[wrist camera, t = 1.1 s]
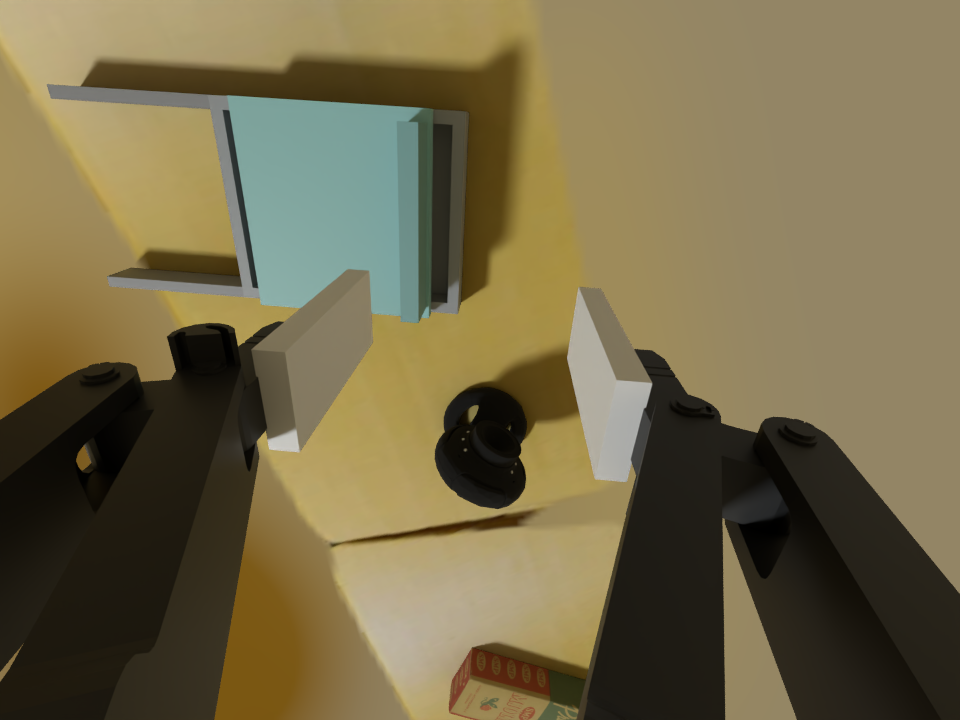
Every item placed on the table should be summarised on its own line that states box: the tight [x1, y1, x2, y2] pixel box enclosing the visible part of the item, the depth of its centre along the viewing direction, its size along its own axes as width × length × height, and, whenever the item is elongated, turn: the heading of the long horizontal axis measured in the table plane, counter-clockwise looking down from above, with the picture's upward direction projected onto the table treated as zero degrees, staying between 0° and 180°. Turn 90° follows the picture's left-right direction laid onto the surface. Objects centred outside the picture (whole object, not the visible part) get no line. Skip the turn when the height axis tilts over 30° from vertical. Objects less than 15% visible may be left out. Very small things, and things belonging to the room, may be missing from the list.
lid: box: [227, 95, 433, 323], centre depth 30 cm, size 14×13×4 cm
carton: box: [449, 647, 586, 720], centre depth 58 cm, size 8×16×4 cm, turn 70°
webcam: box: [435, 387, 527, 509], centre depth 38 cm, size 8×8×10 cm
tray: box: [47, 84, 469, 314], centre depth 34 cm, size 14×27×2 cm, turn 87°
